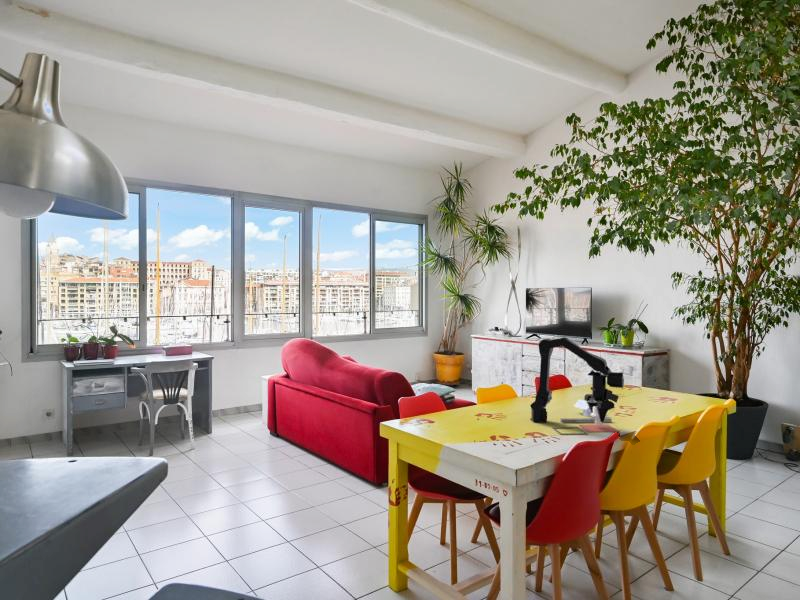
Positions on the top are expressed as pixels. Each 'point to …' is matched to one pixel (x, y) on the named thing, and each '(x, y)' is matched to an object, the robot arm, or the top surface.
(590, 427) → the pad
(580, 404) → the wedge on round base
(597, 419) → the pipe fitting
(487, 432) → the top surface
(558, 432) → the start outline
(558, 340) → the robot arm
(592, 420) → the rail
